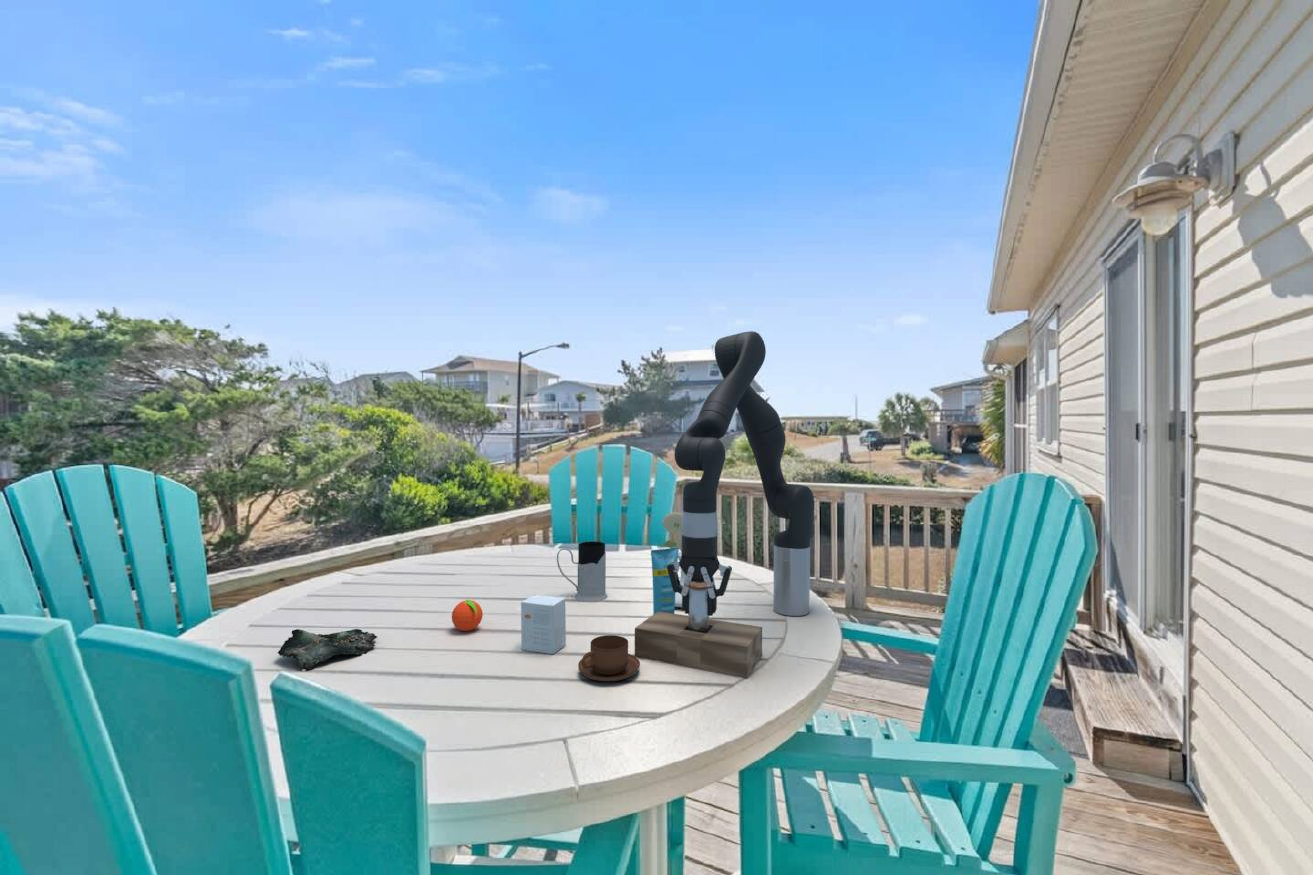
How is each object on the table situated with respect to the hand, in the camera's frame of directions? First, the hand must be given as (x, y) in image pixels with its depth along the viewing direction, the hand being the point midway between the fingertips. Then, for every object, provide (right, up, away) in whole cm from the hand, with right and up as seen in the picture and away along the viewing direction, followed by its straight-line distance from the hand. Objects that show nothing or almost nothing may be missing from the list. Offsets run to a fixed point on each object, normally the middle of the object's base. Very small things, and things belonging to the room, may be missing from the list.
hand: (699, 613), depth 118 cm
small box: (-33, -9, +4) cm, 35 cm away
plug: (0, -7, 0) cm, 7 cm away
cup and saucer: (-18, -9, -8) cm, 22 cm away
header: (0, -9, 0) cm, 9 cm away
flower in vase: (-2, -9, +35) cm, 36 cm away
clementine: (-53, -9, +14) cm, 55 cm away
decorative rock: (-78, -9, +1) cm, 78 cm away
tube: (-7, -9, +16) cm, 20 cm away
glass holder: (-30, -8, +41) cm, 51 cm away
